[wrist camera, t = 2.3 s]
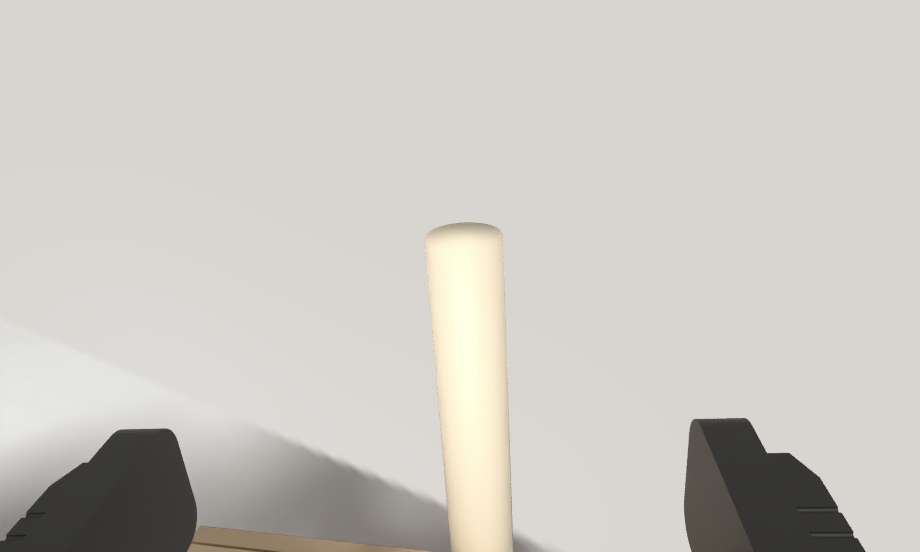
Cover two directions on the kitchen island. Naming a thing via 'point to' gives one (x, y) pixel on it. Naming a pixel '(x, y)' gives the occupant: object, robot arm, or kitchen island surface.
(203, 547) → the brown carton
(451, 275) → the beige l-shaped piece
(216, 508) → the kitchen island surface
